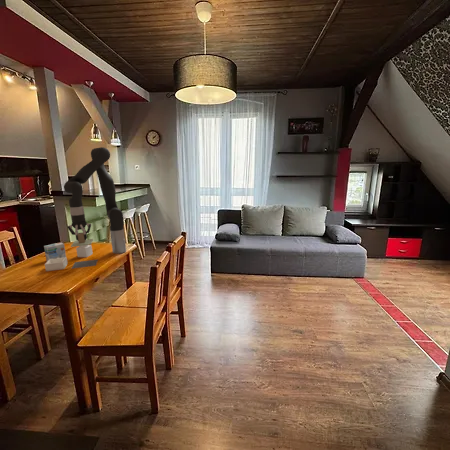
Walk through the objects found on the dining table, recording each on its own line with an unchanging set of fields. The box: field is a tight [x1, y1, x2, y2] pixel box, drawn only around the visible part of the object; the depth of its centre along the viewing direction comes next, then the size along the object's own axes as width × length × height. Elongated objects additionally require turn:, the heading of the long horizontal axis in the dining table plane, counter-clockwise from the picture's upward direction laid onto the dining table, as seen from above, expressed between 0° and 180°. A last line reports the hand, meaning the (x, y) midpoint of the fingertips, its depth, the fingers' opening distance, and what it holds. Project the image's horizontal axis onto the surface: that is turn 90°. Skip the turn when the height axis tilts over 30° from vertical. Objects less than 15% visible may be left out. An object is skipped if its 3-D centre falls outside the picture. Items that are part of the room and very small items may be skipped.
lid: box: [70, 232, 94, 248], centre depth 162 cm, size 11×11×7 cm
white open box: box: [44, 256, 68, 272], centre depth 161 cm, size 10×10×5 cm
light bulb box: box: [43, 241, 67, 262], centre depth 176 cm, size 11×7×11 cm, turn 143°
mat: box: [70, 258, 99, 270], centre depth 166 cm, size 14×12×1 cm
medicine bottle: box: [75, 244, 93, 258], centre depth 181 cm, size 7×7×12 cm
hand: (82, 240), depth 163 cm, fingers closed on lid, 3 cm apart
